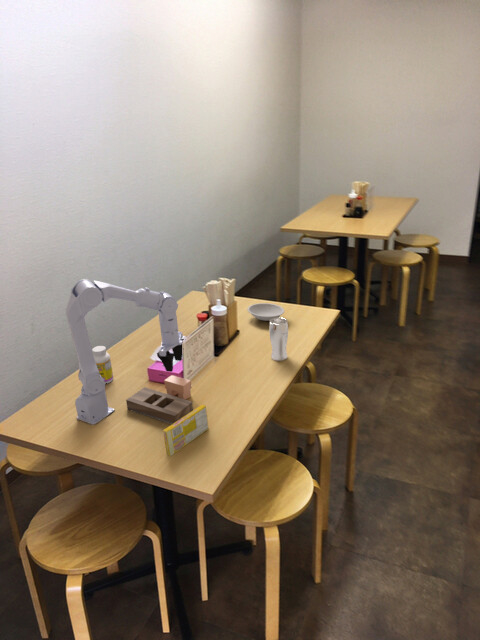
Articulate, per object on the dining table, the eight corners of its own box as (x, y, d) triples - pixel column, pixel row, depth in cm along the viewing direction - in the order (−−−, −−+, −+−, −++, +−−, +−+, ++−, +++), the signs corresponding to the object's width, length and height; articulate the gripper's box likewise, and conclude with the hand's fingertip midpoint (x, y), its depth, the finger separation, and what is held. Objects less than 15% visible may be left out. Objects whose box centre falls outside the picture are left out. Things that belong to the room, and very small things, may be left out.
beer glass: (288, 353, 207) (288, 317, 201) (288, 361, 200) (287, 324, 195) (270, 353, 208) (269, 317, 202) (269, 361, 201) (268, 324, 195)
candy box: (204, 427, 164) (201, 403, 161) (209, 429, 163) (207, 405, 160) (165, 453, 153) (162, 429, 150) (170, 456, 152) (167, 432, 148)
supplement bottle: (90, 383, 193) (85, 350, 188) (103, 374, 198) (97, 343, 193) (105, 386, 190) (99, 354, 185) (117, 378, 195) (112, 346, 190)
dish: (240, 320, 239) (239, 309, 237) (262, 310, 248) (262, 300, 246) (269, 330, 227) (269, 319, 225) (291, 320, 236) (291, 309, 234)
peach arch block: (185, 401, 178) (183, 385, 176) (166, 395, 182) (164, 380, 180) (192, 396, 181) (190, 380, 179) (173, 390, 185) (171, 375, 183)
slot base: (175, 425, 165) (174, 415, 164) (127, 409, 175) (126, 399, 174) (193, 411, 172) (192, 401, 171) (145, 396, 182) (144, 387, 181)
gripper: (171, 339, 169) (176, 377, 174) (189, 320, 181) (193, 356, 187) (151, 337, 171) (156, 375, 176) (169, 319, 183) (174, 354, 189)
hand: (174, 365), depth 182 cm, fingers open, 7 cm apart
